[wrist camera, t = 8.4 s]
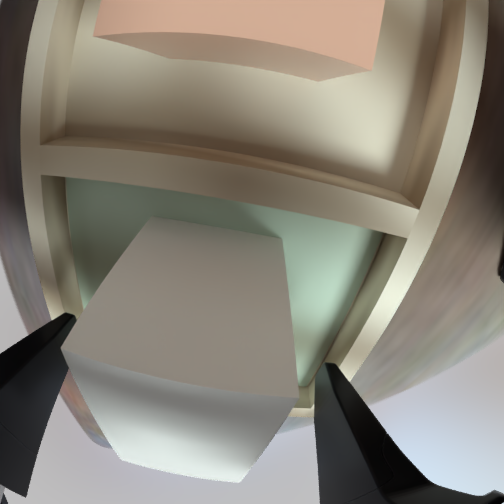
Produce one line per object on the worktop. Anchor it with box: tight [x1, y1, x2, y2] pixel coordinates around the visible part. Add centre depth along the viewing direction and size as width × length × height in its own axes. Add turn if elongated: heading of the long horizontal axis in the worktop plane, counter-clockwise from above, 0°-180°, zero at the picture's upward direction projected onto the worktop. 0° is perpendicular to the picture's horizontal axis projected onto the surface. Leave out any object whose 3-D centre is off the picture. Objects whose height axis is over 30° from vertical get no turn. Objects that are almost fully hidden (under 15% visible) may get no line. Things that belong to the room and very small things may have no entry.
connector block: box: [61, 216, 299, 483], centre depth 9 cm, size 4×7×6 cm, turn 169°
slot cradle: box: [20, 0, 488, 417], centre depth 9 cm, size 23×14×2 cm, turn 169°
